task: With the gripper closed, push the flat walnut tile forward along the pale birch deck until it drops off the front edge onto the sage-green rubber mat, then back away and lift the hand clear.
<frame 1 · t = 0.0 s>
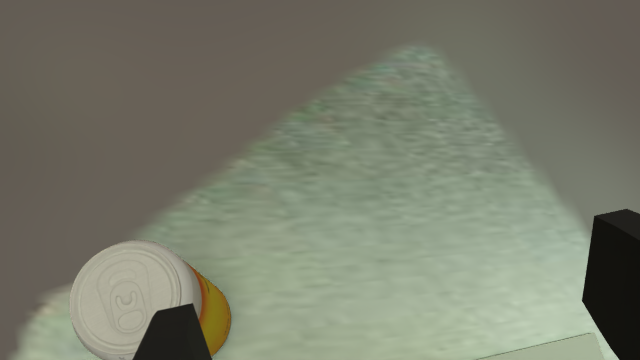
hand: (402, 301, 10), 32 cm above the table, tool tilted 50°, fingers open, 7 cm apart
beer can: (191, 321, 41), on the table
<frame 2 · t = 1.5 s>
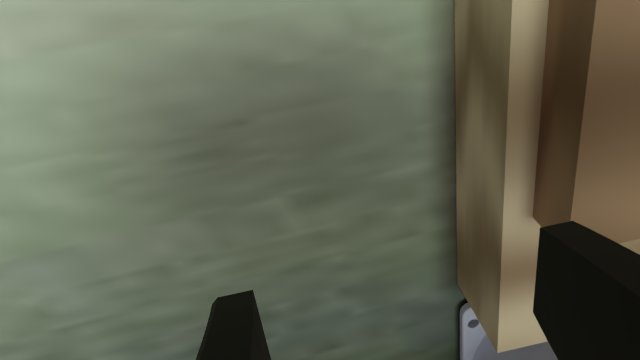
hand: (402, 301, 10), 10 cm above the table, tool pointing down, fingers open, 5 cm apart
birch deck: (619, 32, 20), on the table
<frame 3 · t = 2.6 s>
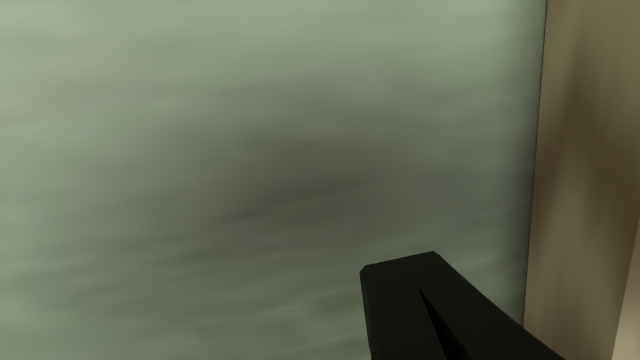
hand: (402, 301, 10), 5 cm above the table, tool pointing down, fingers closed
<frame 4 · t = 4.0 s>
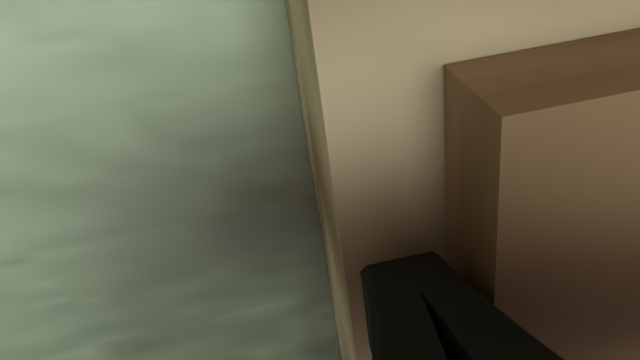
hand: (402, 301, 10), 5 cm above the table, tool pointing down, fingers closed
walnut tile: (595, 233, 11), point 4 cm above the table
birch deck: (542, 134, 14), on the table
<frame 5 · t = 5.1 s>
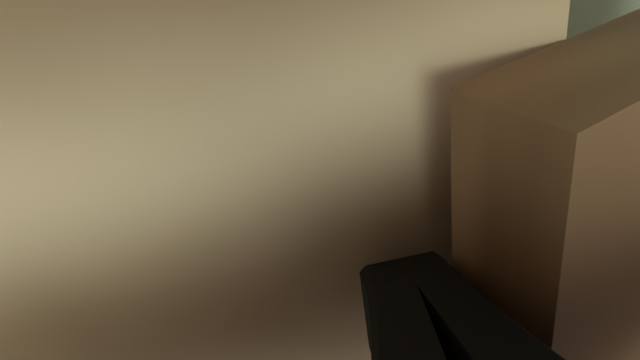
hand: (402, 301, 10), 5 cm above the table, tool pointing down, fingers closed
walnut tile: (564, 229, 11), point 4 cm above the table, tilted 23°, touching birch deck
birch deck: (232, 197, 14), on the table
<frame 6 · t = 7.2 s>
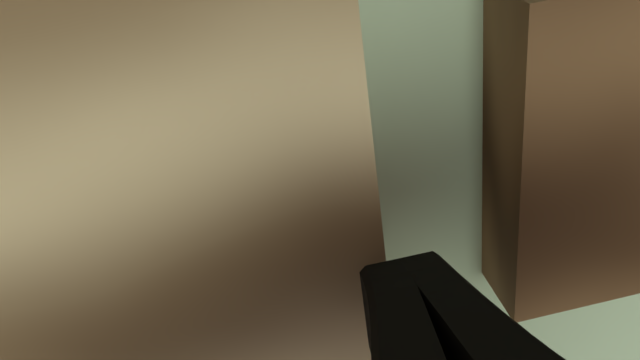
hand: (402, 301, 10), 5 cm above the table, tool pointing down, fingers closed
sage mat: (555, 126, 14), on the table
birch deck: (101, 223, 14), on the table
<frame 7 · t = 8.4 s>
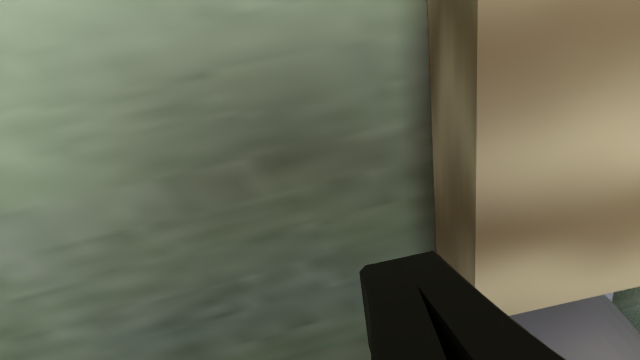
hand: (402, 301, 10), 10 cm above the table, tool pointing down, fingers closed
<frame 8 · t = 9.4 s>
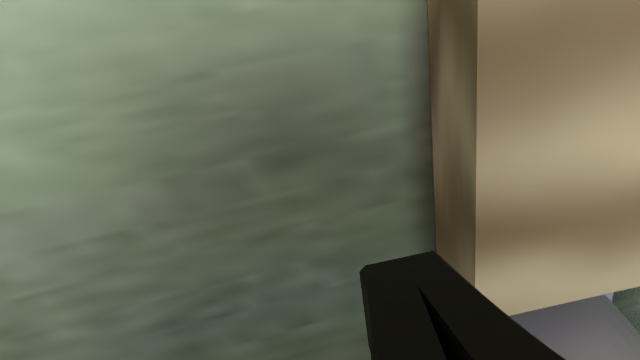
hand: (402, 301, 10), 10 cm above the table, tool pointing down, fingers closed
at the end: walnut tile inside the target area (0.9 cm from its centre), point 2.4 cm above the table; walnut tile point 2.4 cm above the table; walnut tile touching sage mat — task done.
